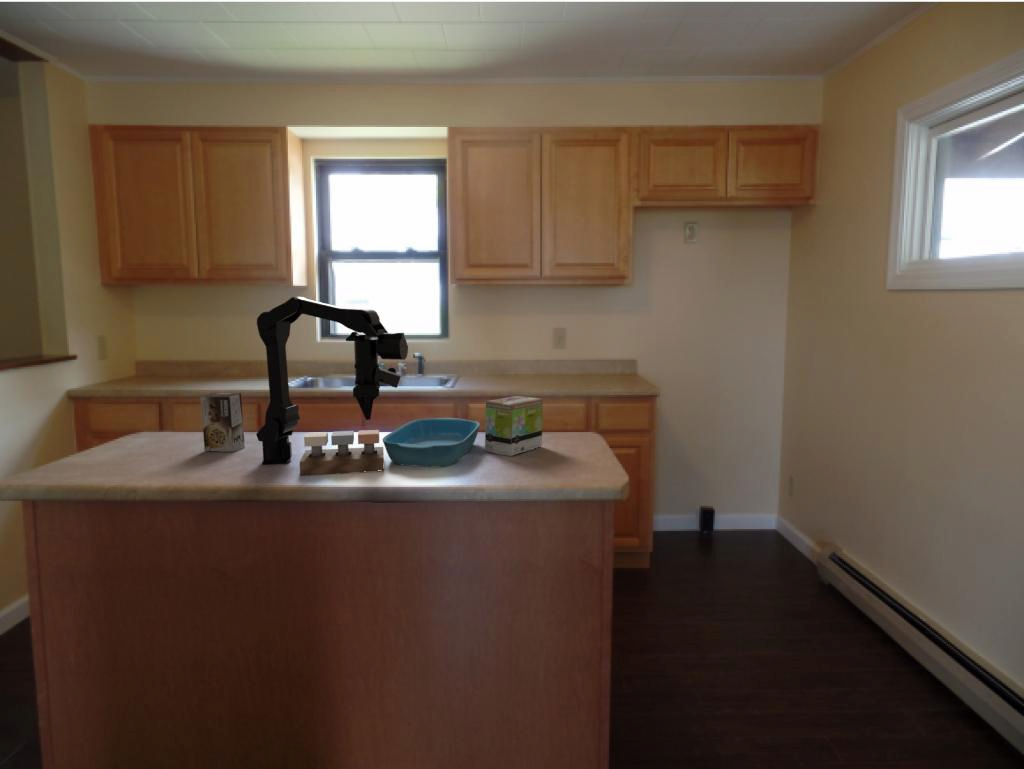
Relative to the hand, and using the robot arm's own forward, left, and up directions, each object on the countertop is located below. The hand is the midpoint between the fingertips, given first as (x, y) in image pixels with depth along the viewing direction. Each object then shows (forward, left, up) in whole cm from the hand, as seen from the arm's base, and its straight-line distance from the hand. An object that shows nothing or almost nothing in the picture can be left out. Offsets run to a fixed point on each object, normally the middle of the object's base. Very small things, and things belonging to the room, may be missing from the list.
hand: (368, 419), depth 158 cm
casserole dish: (+18, +10, -13) cm, 24 cm away
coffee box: (-41, +27, -12) cm, 51 cm away
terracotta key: (0, 0, -9) cm, 9 cm away
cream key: (-13, 0, -9) cm, 16 cm away
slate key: (-6, 0, -9) cm, 11 cm away
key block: (-6, 0, -12) cm, 14 cm away
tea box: (+41, +10, -12) cm, 44 cm away
